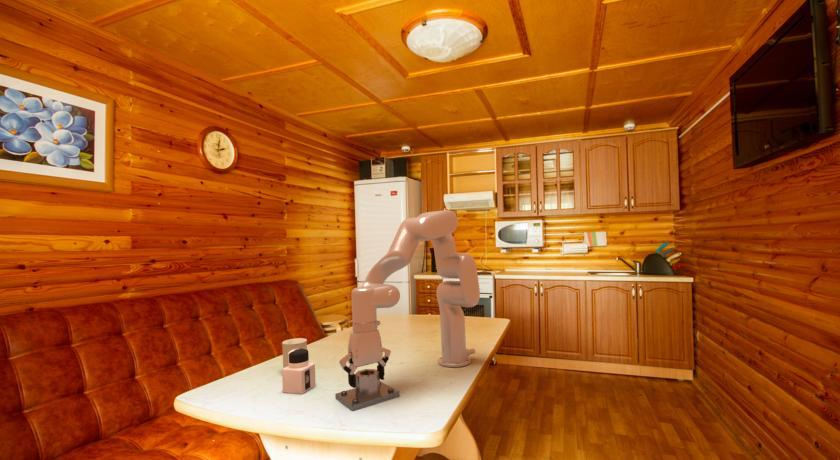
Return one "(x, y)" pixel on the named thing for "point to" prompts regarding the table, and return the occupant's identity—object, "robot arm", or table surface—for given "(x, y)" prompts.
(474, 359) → the table surface
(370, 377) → the hub ring
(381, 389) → the shaft block
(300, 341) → the can
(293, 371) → the container
